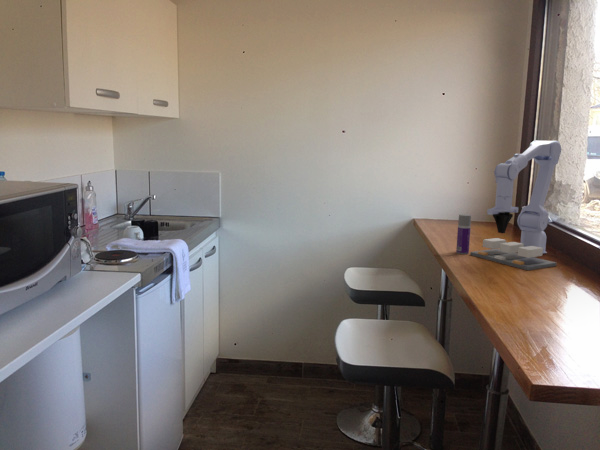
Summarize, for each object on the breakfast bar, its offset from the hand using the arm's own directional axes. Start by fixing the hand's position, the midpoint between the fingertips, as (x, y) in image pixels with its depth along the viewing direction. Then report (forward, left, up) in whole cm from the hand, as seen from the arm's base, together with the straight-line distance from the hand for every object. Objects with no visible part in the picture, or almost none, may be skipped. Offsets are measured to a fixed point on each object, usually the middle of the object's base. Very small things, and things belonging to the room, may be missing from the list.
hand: (501, 232), depth 197 cm
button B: (-1, +4, -6) cm, 8 cm away
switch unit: (-2, +4, -10) cm, 11 cm away
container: (+6, -13, -10) cm, 17 cm away
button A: (-1, -4, -6) cm, 8 cm away
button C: (-1, +12, -6) cm, 14 cm away
